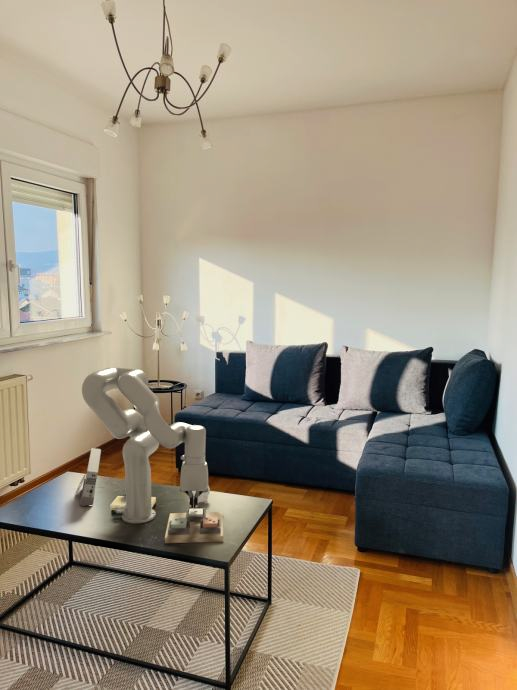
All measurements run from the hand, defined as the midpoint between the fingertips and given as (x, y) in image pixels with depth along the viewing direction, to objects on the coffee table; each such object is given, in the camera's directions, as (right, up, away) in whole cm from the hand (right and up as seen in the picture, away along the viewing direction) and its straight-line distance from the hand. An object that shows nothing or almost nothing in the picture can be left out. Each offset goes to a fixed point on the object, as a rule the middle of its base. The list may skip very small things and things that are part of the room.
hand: (193, 506), depth 199 cm
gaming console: (-47, -4, +23) cm, 52 cm away
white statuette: (0, -5, +17) cm, 18 cm away
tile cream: (+1, -4, 0) cm, 4 cm away
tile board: (+1, -7, -5) cm, 8 cm away
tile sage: (-4, -4, -10) cm, 12 cm away
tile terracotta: (+7, -4, -9) cm, 12 cm away
